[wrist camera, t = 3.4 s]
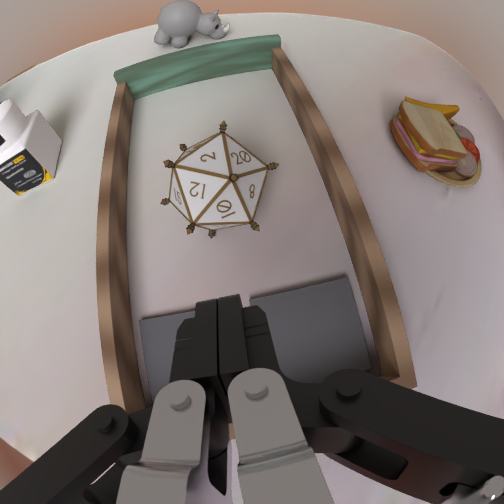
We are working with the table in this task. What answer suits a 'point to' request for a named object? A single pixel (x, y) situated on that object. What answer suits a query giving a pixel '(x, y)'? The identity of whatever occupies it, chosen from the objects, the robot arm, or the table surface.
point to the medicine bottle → (26, 149)
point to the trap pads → (281, 334)
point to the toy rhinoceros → (186, 23)
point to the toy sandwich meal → (437, 142)
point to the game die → (217, 183)
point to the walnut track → (331, 169)
